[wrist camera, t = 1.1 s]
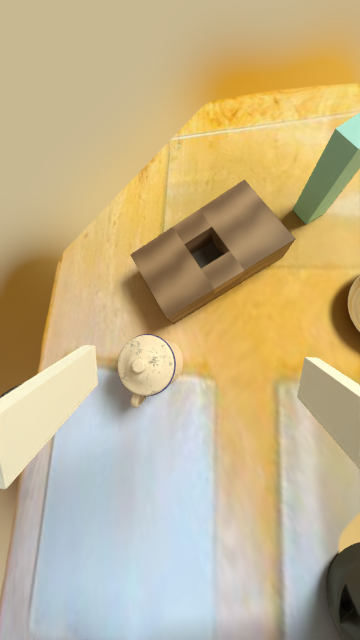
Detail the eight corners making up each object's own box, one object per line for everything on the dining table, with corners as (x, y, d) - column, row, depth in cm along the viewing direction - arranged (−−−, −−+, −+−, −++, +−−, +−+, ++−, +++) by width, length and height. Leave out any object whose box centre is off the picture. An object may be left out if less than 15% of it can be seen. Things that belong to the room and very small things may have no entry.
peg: (325, 212, 36) (390, 128, 23) (305, 224, 36) (358, 149, 23) (311, 198, 37) (365, 109, 24) (292, 209, 37) (335, 128, 24)
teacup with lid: (150, 331, 39) (123, 322, 27) (192, 348, 37) (181, 347, 25) (126, 388, 38) (87, 403, 26) (167, 409, 36) (145, 436, 24)
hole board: (282, 257, 36) (295, 238, 30) (174, 323, 38) (166, 318, 32) (240, 205, 40) (244, 179, 34) (142, 268, 41) (130, 254, 36)
